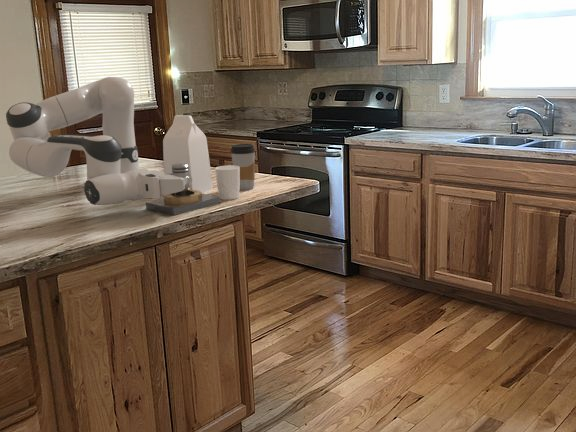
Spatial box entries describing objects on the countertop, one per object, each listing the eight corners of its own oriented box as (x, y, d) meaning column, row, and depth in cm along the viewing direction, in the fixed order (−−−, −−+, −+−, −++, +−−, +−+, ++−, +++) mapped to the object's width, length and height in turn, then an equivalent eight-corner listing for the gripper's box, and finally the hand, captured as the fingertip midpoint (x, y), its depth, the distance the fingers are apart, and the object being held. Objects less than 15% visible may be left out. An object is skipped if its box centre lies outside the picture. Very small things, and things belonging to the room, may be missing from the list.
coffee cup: (253, 191, 210) (251, 147, 206) (230, 191, 211) (227, 147, 208) (259, 186, 218) (257, 143, 214) (236, 185, 219) (234, 143, 215)
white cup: (217, 195, 205) (215, 166, 203) (241, 194, 206) (239, 164, 203) (216, 201, 197) (214, 170, 195) (241, 199, 198) (239, 168, 196)
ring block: (174, 215, 182) (172, 202, 181) (146, 208, 191) (145, 196, 190) (220, 203, 194) (219, 190, 193) (192, 197, 204) (191, 185, 203)
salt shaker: (174, 202, 189) (171, 166, 187) (175, 198, 194) (172, 163, 191) (190, 201, 190) (188, 165, 187) (191, 197, 195) (188, 162, 192)
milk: (213, 189, 216) (207, 114, 209) (193, 196, 206) (186, 117, 199) (185, 187, 221) (179, 113, 215) (164, 193, 211) (157, 117, 205)
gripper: (128, 189, 192) (169, 182, 200) (158, 199, 176) (200, 192, 184) (126, 169, 190) (167, 163, 198) (155, 178, 174) (199, 171, 182)
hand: (183, 177), depth 191 cm, fingers open, 8 cm apart
